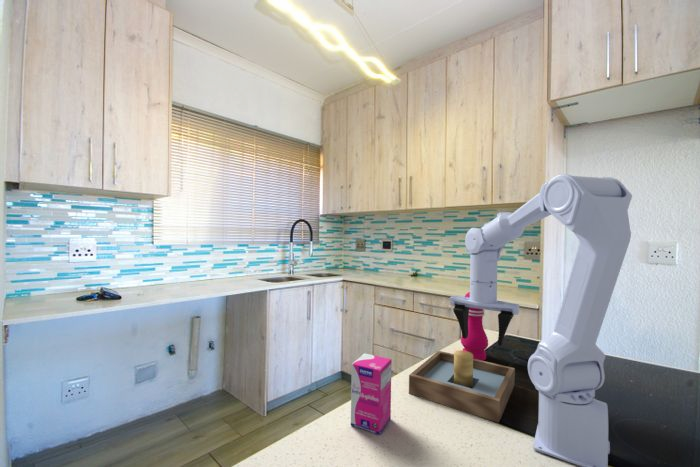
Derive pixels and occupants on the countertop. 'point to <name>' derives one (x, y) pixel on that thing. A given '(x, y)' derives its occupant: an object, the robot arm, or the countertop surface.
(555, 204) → the robot arm
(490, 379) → the bore plate
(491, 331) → the countertop surface
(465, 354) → the peg
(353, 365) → the supplement box
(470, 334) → the pepper mill
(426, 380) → the tray
